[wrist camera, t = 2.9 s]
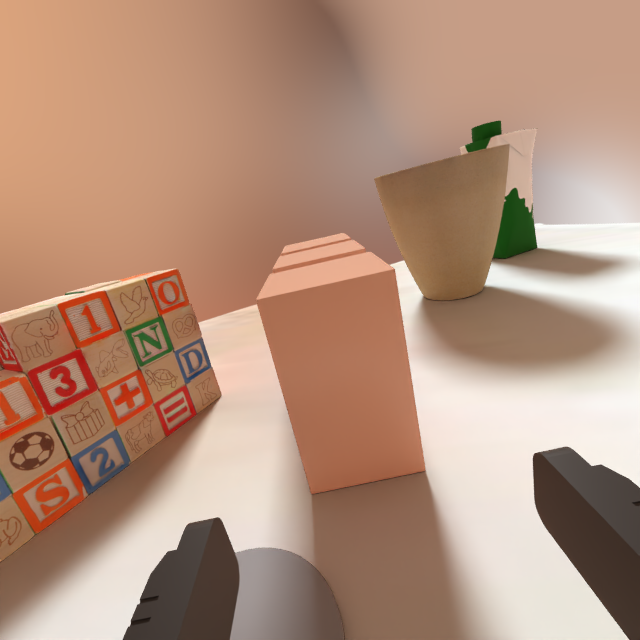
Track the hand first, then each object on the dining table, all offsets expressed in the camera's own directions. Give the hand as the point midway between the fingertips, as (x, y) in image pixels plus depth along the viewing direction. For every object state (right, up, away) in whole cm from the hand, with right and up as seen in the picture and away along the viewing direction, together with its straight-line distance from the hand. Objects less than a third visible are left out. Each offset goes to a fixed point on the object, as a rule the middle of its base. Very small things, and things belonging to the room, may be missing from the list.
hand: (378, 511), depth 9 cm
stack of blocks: (-18, -6, +17) cm, 26 cm away
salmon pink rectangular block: (+1, -3, +13) cm, 13 cm away
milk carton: (+30, +16, +51) cm, 61 cm away
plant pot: (+16, +8, +37) cm, 41 cm away
